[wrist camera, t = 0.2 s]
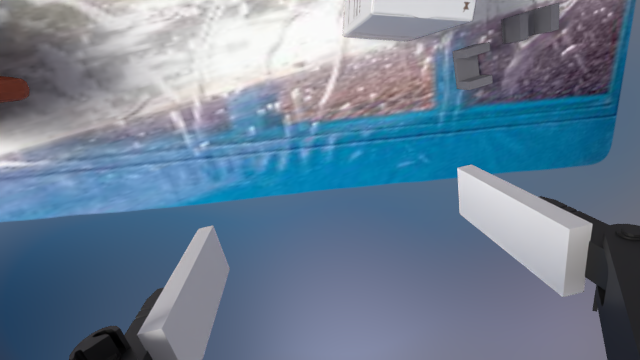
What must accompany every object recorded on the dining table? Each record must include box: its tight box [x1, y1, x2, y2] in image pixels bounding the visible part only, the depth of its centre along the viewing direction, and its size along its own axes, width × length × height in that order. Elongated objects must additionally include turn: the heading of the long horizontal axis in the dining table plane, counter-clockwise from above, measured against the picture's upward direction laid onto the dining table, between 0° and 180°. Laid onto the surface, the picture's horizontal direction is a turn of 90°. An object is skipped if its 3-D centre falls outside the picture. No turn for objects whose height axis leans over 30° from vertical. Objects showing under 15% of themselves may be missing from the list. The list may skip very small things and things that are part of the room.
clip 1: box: [453, 42, 493, 90], centre depth 39 cm, size 5×3×3 cm, turn 16°
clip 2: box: [501, 3, 559, 44], centre depth 38 cm, size 5×3×3 cm, turn 106°
